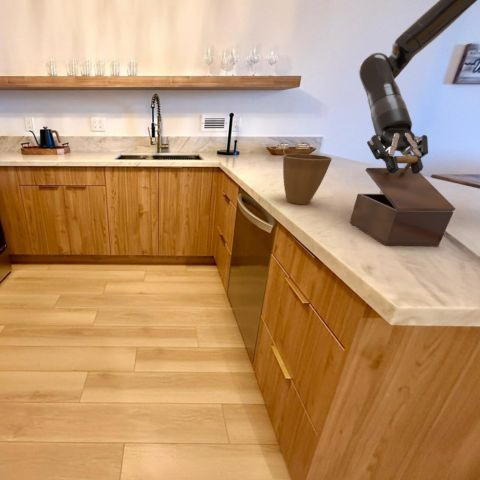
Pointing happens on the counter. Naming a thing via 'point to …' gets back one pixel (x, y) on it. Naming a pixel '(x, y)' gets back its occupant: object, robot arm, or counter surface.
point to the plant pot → (303, 176)
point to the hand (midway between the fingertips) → (406, 171)
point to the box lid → (409, 188)
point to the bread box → (398, 222)
